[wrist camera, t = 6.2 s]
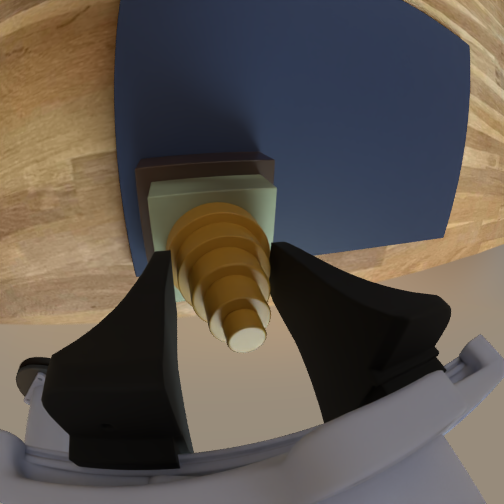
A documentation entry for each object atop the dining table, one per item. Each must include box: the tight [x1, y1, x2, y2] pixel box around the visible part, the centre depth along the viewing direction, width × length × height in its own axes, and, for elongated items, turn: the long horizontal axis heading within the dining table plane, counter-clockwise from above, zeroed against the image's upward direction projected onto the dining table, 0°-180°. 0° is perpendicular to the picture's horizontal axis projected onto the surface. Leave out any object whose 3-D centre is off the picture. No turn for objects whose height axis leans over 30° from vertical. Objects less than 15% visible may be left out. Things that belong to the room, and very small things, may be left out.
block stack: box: [135, 152, 277, 302], centre depth 15 cm, size 7×7×5 cm
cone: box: [166, 202, 271, 353], centre depth 10 cm, size 4×4×6 cm
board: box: [114, 0, 470, 277], centre depth 16 cm, size 30×22×1 cm
